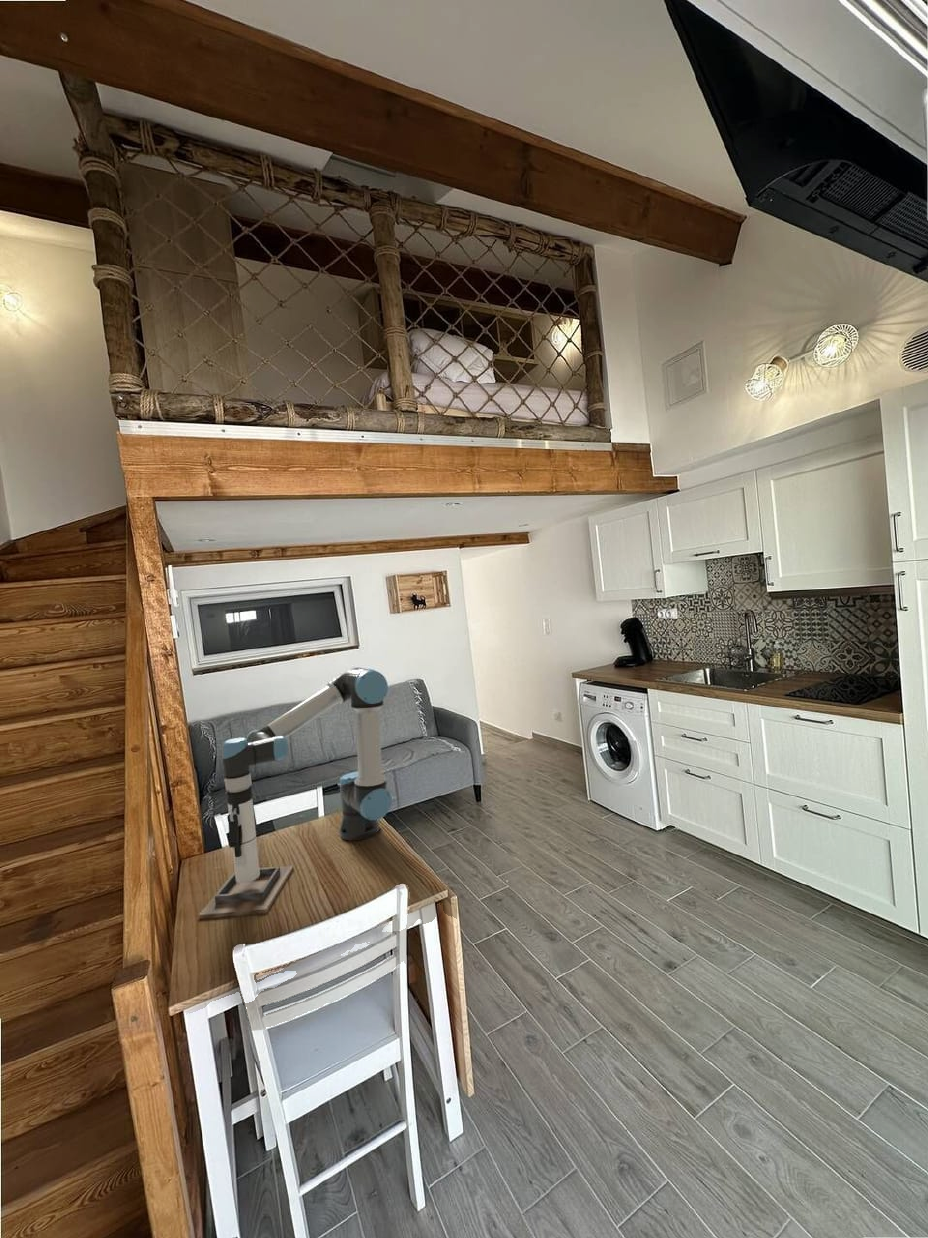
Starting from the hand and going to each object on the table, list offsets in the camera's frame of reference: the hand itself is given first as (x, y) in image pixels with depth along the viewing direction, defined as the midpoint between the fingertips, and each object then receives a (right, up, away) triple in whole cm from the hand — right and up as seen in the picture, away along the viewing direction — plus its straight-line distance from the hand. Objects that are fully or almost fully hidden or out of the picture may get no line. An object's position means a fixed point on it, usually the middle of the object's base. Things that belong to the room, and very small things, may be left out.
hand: (246, 858), depth 160 cm
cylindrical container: (+1, -6, 0) cm, 6 cm away
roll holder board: (+1, -11, +1) cm, 11 cm away
